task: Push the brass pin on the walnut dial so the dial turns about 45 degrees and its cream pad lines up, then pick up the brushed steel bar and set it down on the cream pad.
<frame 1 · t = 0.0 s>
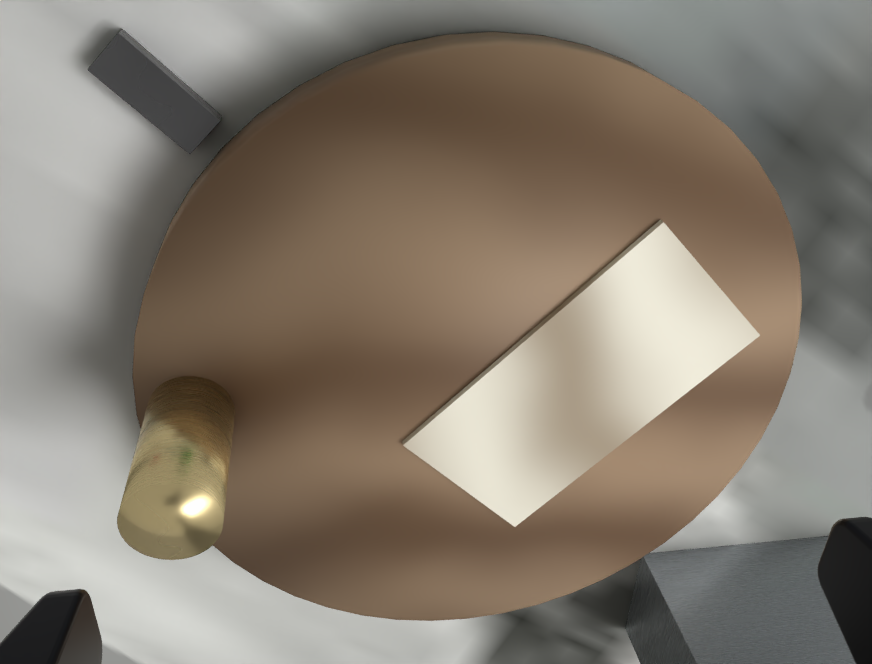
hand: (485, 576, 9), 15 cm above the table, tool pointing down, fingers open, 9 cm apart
dial: (493, 419, 23), point 3 cm above the table, hinge at 0.0°
brushed steel bar: (733, 579, 34), on the table
index mark: (158, 91, 20), on the table
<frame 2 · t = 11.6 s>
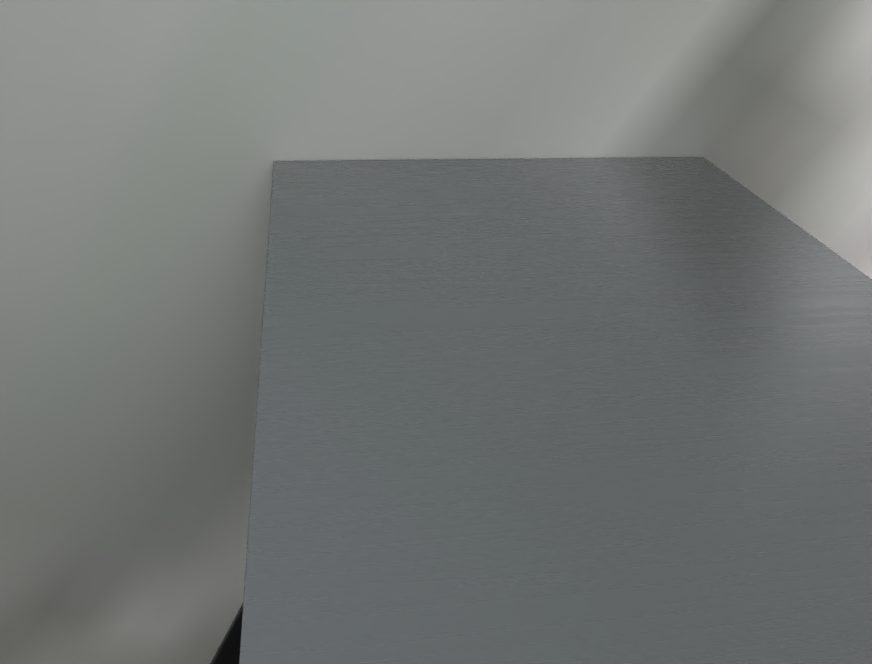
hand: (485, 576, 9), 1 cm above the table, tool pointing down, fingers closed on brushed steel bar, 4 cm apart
brushed steel bar: (469, 498, 10), on the table, touching gripper
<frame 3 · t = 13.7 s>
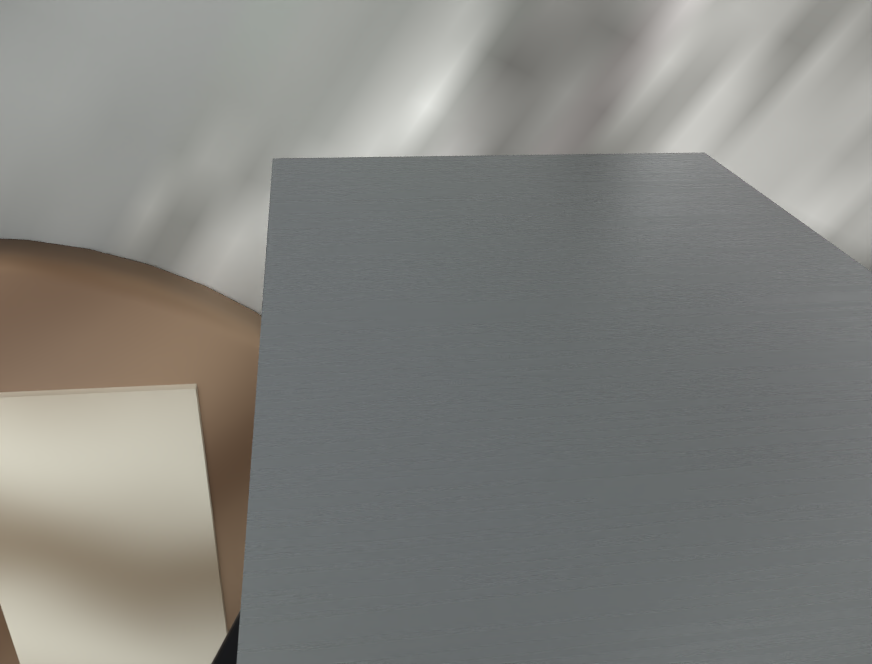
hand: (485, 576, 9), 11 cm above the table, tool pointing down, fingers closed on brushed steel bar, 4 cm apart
dial: (18, 662, 20), point 3 cm above the table, hinge at 47.3°
brushed steel bar: (471, 496, 10), point 10 cm above the table, touching gripper
when the fingers open (4 cm above the table, at t = 16.0 s): brushed steel bar drops 1 cm, resting on dial.
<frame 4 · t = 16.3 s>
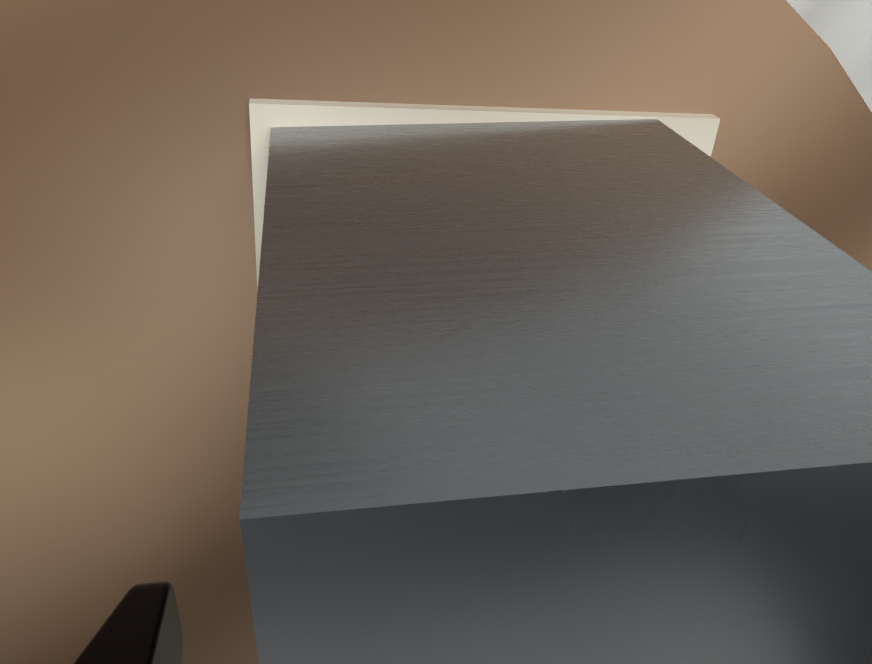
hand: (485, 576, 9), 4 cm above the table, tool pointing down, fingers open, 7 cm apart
dial: (310, 639, 11), point 3 cm above the table, hinge at 47.3°, touching brushed steel bar
brushed steel bar: (456, 440, 11), point 2 cm above the table, touching dial
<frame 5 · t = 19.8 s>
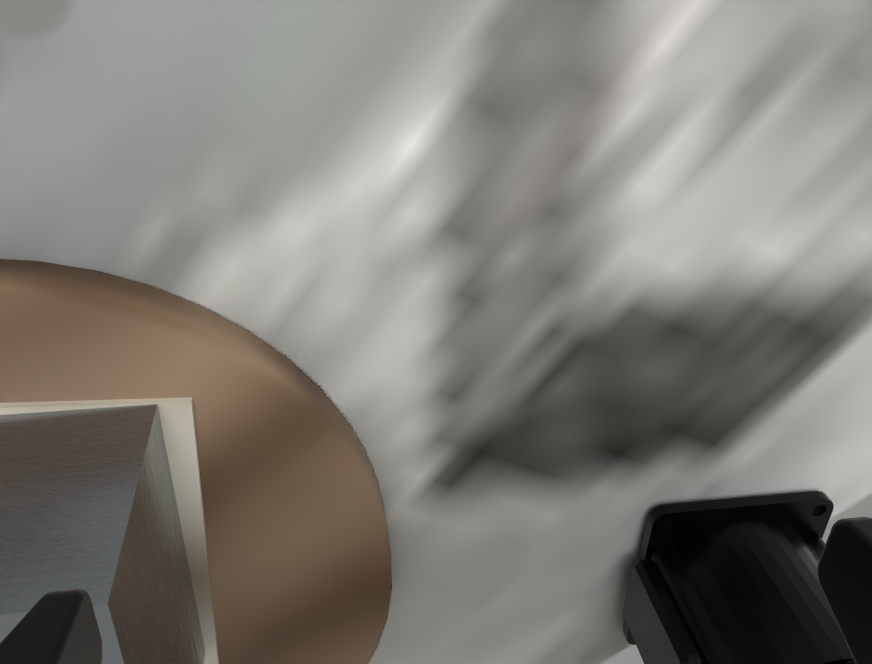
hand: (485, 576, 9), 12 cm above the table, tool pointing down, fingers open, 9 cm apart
dial: (19, 654, 21), point 3 cm above the table, hinge at 47.3°, touching brushed steel bar
brushed steel bar: (97, 548, 21), point 2 cm above the table, touching dial
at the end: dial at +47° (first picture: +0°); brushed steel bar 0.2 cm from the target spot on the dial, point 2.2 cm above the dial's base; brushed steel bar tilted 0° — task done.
